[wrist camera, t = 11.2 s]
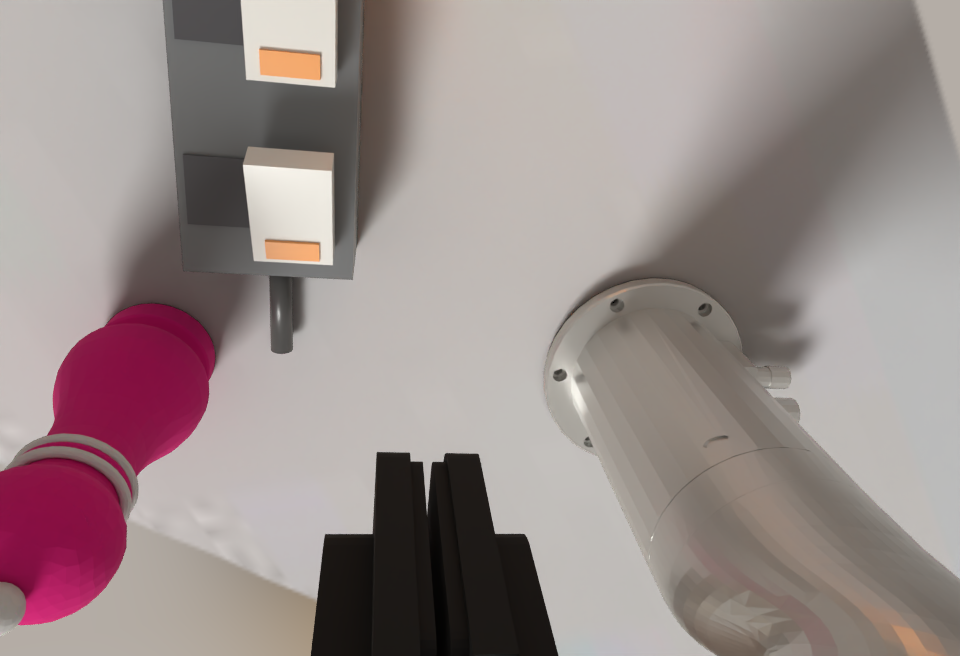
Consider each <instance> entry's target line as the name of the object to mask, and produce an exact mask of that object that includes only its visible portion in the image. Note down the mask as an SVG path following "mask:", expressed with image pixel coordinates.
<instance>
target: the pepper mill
mask: <svg viewBox="0 0 960 656" xmlns="http://www.w3.org/2000/svg"><path fill="white" fill-rule="evenodd" d="M214 366H215V352H214V346H213V343H212V340H211V338H210V336H209V335H208V333H207V332H206V330H205V329H204V328H203V326H202V325H201V324H200V323H199V322H198V321H197V320H195V319H194V318H193V317H191V316H190V315H188V314H187V313H185V312H183V311H181V310H179V309H176V308H174V307H171V306H167V305H162V304H140V305H136V306H132V307H129V308H127V309H125V310H122V311H120V312H119V313H118V314H116V315H115V316H114V317H113V318H112V319H111V320H110V321H109V322H108V323H107V324H106V326H105V327H103V328H100V329H98V330H96V331H94V332H91V333H90V334H88V335H87V336H85V337H84V338H83V339H81V340H80V341H79V342H78V343H77V344H76V345H75V346H74V347H73V348H72V349H71V350H70V352H69V353H68V355H67V356H66V358H65V359H64V361H63V363H62V365H61V366H60V368H59V370H58V373H57V377H56V381H55V385H54V391H53V410H54V417H55V421H54V424H53V426H52V428H51V430H50V431H49V433H48V435H47V436H45V437H42V438H39V439H37V440H34V441H32V442H31V443H29V444H27V445H26V446H25V447H24V448H22V449H21V450H20V451H19V452H18V453H17V455H16V456H15V458H14V459H13V461H12V462H11V463H10V464H9V465H8V466H7V467H6V468H5V470H4V471H1V472H0V636H3V635H5V634H6V633H8V632H10V631H11V630H13V629H14V628H15V627H16V626H17V625H33V624H42V623H47V622H53V621H55V620H58V619H60V618H63V617H65V616H68V615H70V614H73V613H75V612H76V611H78V610H80V609H81V608H83V607H84V606H86V605H87V604H89V603H90V602H91V601H92V600H93V599H94V598H96V597H97V596H98V595H99V594H100V593H101V592H102V591H103V590H104V589H105V588H106V586H107V585H108V583H109V582H110V580H111V579H112V577H113V576H114V574H115V573H116V571H117V570H118V568H119V566H120V564H121V561H122V559H123V556H124V553H125V550H126V537H127V536H126V535H127V525H126V522H127V520H128V518H129V515H130V512H131V511H132V509H133V507H134V506H135V504H136V501H137V498H138V480H137V475H138V474H139V473H140V472H141V471H142V470H143V469H144V468H145V467H146V466H147V465H149V464H151V463H152V462H154V461H156V460H158V459H159V458H161V457H163V456H165V455H167V454H169V453H170V452H172V451H173V450H175V449H176V448H177V447H178V446H179V445H180V444H181V443H182V442H184V441H185V440H186V439H187V438H188V437H189V436H190V435H191V434H192V432H193V431H194V430H195V428H196V427H197V425H198V423H199V422H200V420H201V418H202V416H203V414H204V412H205V411H206V407H207V404H208V398H209V382H208V381H209V379H210V377H211V375H212V373H213V370H214Z"/></svg>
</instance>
